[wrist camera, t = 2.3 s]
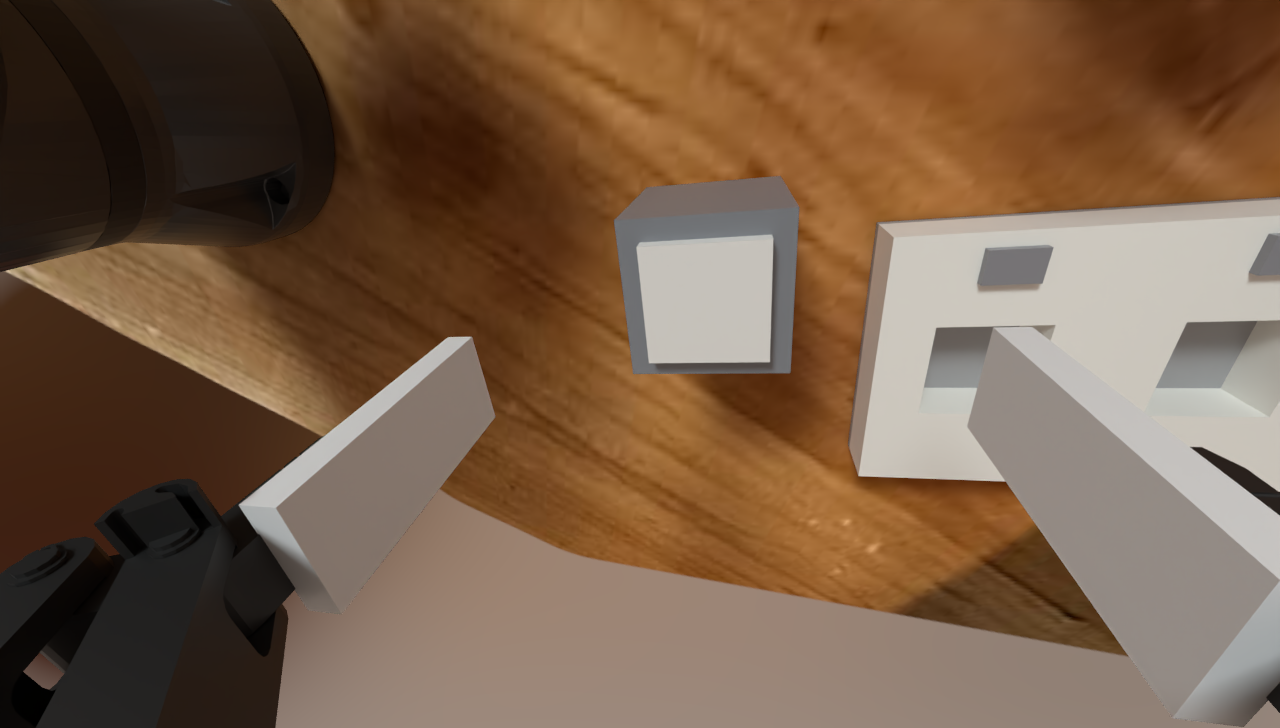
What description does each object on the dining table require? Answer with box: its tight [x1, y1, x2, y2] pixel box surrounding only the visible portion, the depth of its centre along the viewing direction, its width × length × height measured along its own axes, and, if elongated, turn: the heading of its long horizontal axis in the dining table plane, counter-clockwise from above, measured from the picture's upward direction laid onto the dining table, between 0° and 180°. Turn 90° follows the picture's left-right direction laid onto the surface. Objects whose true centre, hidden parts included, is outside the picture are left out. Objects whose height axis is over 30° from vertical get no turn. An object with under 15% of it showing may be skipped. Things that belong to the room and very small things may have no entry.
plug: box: [614, 176, 799, 374], centre depth 21 cm, size 6×6×11 cm
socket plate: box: [848, 197, 1280, 492], centre depth 24 cm, size 20×14×3 cm
